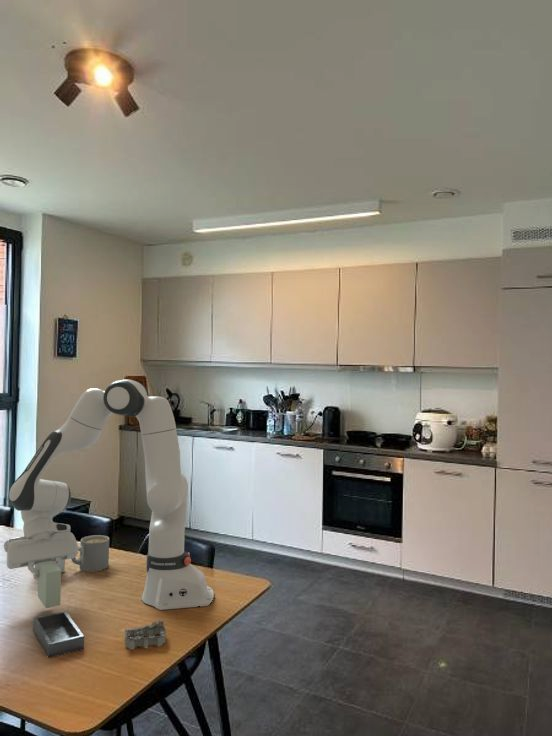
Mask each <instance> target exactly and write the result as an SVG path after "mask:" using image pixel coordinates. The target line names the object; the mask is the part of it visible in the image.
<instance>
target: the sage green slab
mask: <svg viewBox="0 0 552 736" xmlns="http://www.w3.org/2000/svg"><path fill="white" fill-rule="evenodd" d="M38 570H39V573H40V576H39V578H37V597H38V599H39V600H40V602H41V604H42V605H43V607H44V608H45V609H49V608H54V607H57V606H61V598H62V597H61V593H62V592H61V591H62V590H61V589H62V587H61V585H62V584H61V583H62V572H61V570H60V568H59V567H58V566H57V565H56V564H55V563H54V562H53V561H47V562H41V563H39V564H38Z"/></svg>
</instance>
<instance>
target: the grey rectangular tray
mask: <svg viewBox="0 0 552 736" xmlns="http://www.w3.org/2000/svg"><path fill="white" fill-rule="evenodd" d="M32 632H33V633H34V635H35V637H36V638H37V641H38V642H39V645H40V646H41V648H42V647H43V648H42V650H43V649H44V650H43V651H44V653H45V655H46V657H47V656H48V657H47V658H48V659H50V657H51V658H53V657H54V658H55V657H58V656H61V654H62V655H65V654H64V653H66V654H69V653H68V652H70V653H73V651H74V652H77V651H76V650H78V651H82V650H84V649H85V635H84V634H83V632H82V631H81V629H80V628H79V627H78V625H77V624H76V622H75V621H74V620H73V619H72V617H71V616H70V614H69V613H68V612H67V611H66V610H65V611H59V612H56V613H55V612H54V613H50V614H46V615H45V614H44V615H40V616H36V617H33V618H32ZM81 649H82V650H81ZM57 655H58V656H57Z"/></svg>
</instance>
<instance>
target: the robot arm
mask: <svg viewBox="0 0 552 736" xmlns="http://www.w3.org/2000/svg"><path fill="white" fill-rule="evenodd" d="M113 414H116V415H118V416H125V417H133V418H136V419H137V421H138V423H139V428H140V434H141V442H142V448H143V454H144V464H145V465H144V466H145V467H144V468H145V473H144V475H145V487H146V503H147V506H148V507H149V509H150V510H151V516H150V517H151V518H150V523H149V529H148V530H149V531H148V532H149V533H148V552H147V553H146V561H145V562H146V564H145V569H146V579H145V584H144V589H143V593H142V596H141V601H142V602H143V603H144V604H146V605H148V606H152V607H155V609H158V610H160V611H163V610H172V609H173V610H175V609H176V610H177V609H185V608H186V609H187V608H197V607H198V606H200V607H206V606H209V605H210V603H211V602H212V603H213V601H214V599H213V598H215V594H214V590H213V588H212V587H210V586H208V583H207V582H208V581H207V579H206V577H205V574H204V573H203V572H202V571H201V570H199V568H197V567H196V566H194V565H192V564H191V562H192V559H191V555H190V552H189V551H188V552H187V551H185V530H186V518H187V511H188V510H187V506H188V494H189V484H188V481H187V478H186V476H185V475H184V474H183V473H182V469H181V450H180V444H179V438H178V433H177V431H178V430H177V426H176V425H177V424H176V421H175V420H176V419H175V416H174V413H173V410H172V407H171V404H170V401H169V400H168V398H165V397H163V396H157V395H155V396H149V391H148V389H147V387H146V386H145V385H144V384H143V383H141V382H140V381H137V380H132V379H120V380H118V379H117V380H115V381H113V382H111V383H110V384H109V385H108V386H107V387H106V388H105V390H104V389H101V388H96V387H95V388H94V387H93V388H92V387H91V388H88V389H86V390H85V391H84V392H83V393H82V394H81V395H80V397H79V398H78V400H77V401H76V404H75V405H74V407H73V409H72V410H71V412H70V415H69V416H68V418H67V419H66V421H65V422H64V423H63V425H61V426H60V427H59V428H58V429H56V430H54V431H52V432H51V433H50V434H49V435H48V436H47V437H46V438H45V440H44V441H43V442H42V443H41V445H40V447H39V448H38V449H37V450H36V452H35V454H34V456H32V458H31V460H30V461H29V463H28V464H27V465H26V467H25V469H24V470H23V472H22V473H21V474H20V475H19V476H18V477H17V478H16V480H14V482H13V483H12V484H11V486H10V488H9V491H8V501H9V502H10V504H11V506H12V507H13V508H14V510H16V511H20V515H21V517H20V518H21V520H22V522H23V528H22V529H23V536H17V537H11V538H9V539H7V540H6V541H5V542H4V543H3V549H4V551H5V552H6V566H7V568H8V569H10V570H13V569H18V568H25V567H27V569H28V571H29V572H30V573H31V574H32V576H33V579H38V578H39V576H40V573H39V570H36V569H35V565H37V564H39V563H41V562H47V561H53V562H55V564H57V566H58V567H59V564H60V562H61V560H65V561H66V560H71V559H72V558H76V557H77V555H78V553H79V551H78V547H79V546H78V542H77V539H76V537H75V535H74V534H73V532H71V525H70V524H67V523H66V524H65V523H59V522H55V521H53V518H54V517H56V516H58V515H59V514H60V513H62V512H63V511H65V510H66V508H68V506H69V505H70V504H71V500H72V494H71V489H70V486H69V485H68V484H67V483H66V482H63V481H56V480H50V479H49V480H48V479H43V478H42V477H43V475H44V474H45V472H46V471H47V469H48V468H49V467H50V465H51V463H52V462H53V461H54V460H55V459H56V458H58V457H59V456H60V455H63V454H66V453H71V452H74V451H75V452H76V451H82V450H86V449H88V448H90V447H92V446H94V445H96V444H95V443H97V441H98V440H99V438H100V437H101V434H102V433H103V430H104V428H105V426H106V424H107V422H108V420H109V418H110V417H111V416H112V415H113ZM212 600H213V601H212ZM212 603H211V604H212Z"/></svg>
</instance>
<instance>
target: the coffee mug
mask: <svg viewBox="0 0 552 736" xmlns="http://www.w3.org/2000/svg"><path fill="white" fill-rule="evenodd" d="M78 552H79V558H78V559H76V557H75V558H72V559H70V560H71V562H72V563H73V564H75V565H78V566H79V570H80V571H84V572H88V571H89V572H90V573H91V571H93V572H99V570H100V571H103V569H104V570H106V569H107V568H108V567H109V561H110V559H109V558H110V557H109V556H110V537H109V536H107V535H100V534H99V535H98V534H97V535H96V534H95V535H88V536H84V537H82V538H81V539H80V545H79V546H78ZM105 568H106V569H105Z"/></svg>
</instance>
